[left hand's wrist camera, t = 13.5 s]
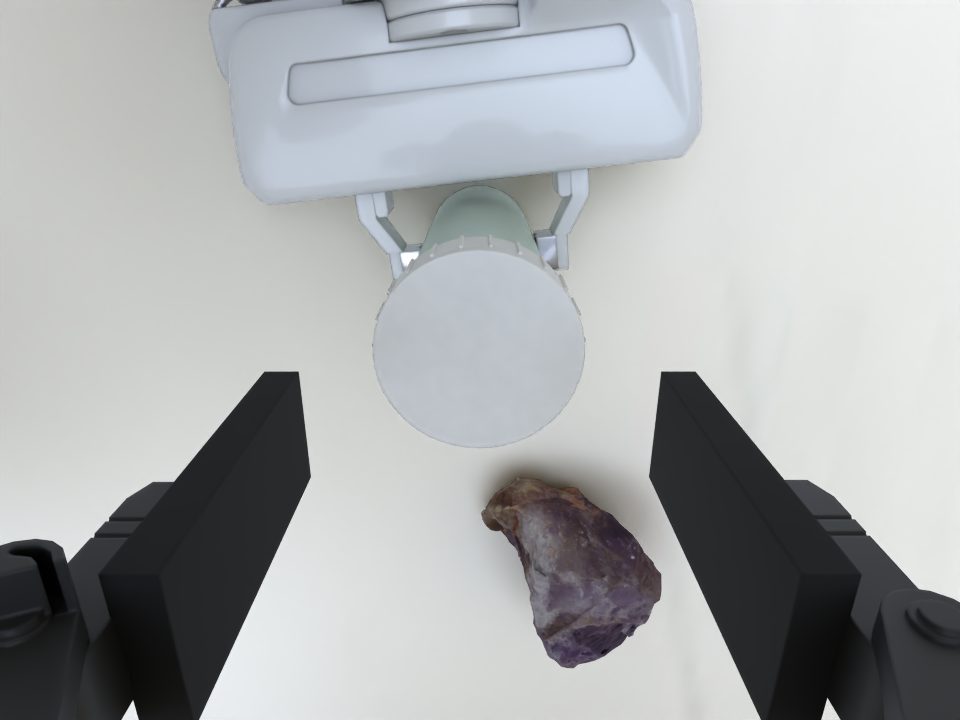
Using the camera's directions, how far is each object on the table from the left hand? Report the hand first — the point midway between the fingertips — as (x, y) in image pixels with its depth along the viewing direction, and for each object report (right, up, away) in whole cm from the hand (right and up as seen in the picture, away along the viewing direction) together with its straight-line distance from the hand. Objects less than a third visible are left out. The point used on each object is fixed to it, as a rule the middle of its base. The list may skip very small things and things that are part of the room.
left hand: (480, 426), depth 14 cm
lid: (0, +2, +4) cm, 5 cm away
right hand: (0, +6, +16) cm, 17 cm away
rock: (+6, -10, +29) cm, 31 cm away
